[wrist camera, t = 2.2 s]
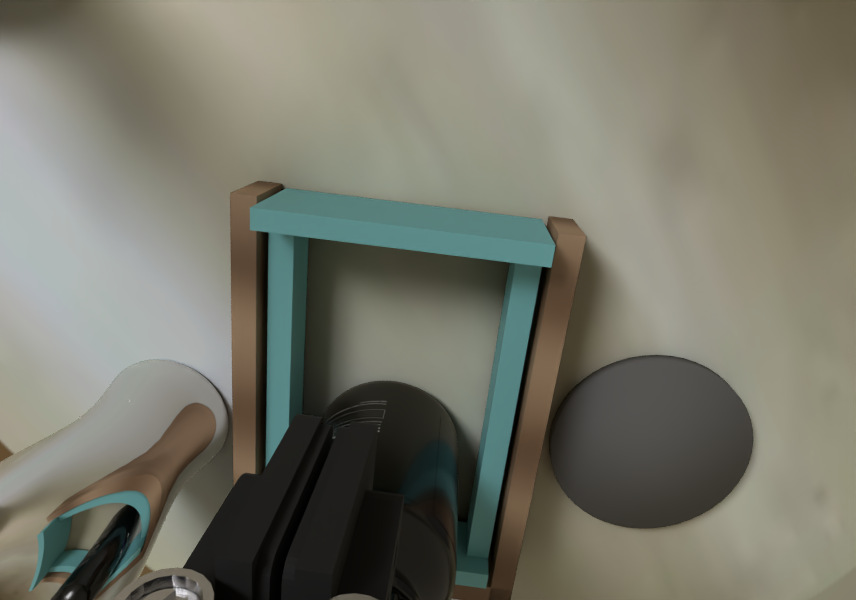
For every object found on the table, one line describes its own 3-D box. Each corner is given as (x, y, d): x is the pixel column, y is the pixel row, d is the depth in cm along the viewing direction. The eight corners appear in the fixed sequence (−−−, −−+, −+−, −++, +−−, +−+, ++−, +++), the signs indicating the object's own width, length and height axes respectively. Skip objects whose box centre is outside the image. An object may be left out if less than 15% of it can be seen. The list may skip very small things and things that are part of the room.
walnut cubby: (258, 181, 24) (229, 192, 21) (572, 219, 24) (586, 236, 21) (256, 523, 30) (234, 567, 28) (505, 558, 30) (508, 606, 27)
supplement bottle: (312, 479, 29) (212, 722, 18) (331, 361, 27) (229, 556, 16) (444, 508, 29) (427, 769, 18) (475, 392, 27) (477, 610, 16)
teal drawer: (286, 188, 24) (249, 207, 20) (541, 219, 24) (555, 245, 20) (279, 508, 30) (249, 573, 26) (484, 537, 29) (486, 607, 25)
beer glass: (267, 427, 28) (65, 758, 14) (173, 494, 30) (-87, 846, 16) (164, 322, 27) (-175, 579, 13) (72, 400, 29) (-312, 699, 15)
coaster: (568, 342, 26) (571, 348, 25) (773, 369, 25) (780, 375, 25) (534, 506, 29) (535, 514, 28) (715, 531, 29) (720, 540, 28)
